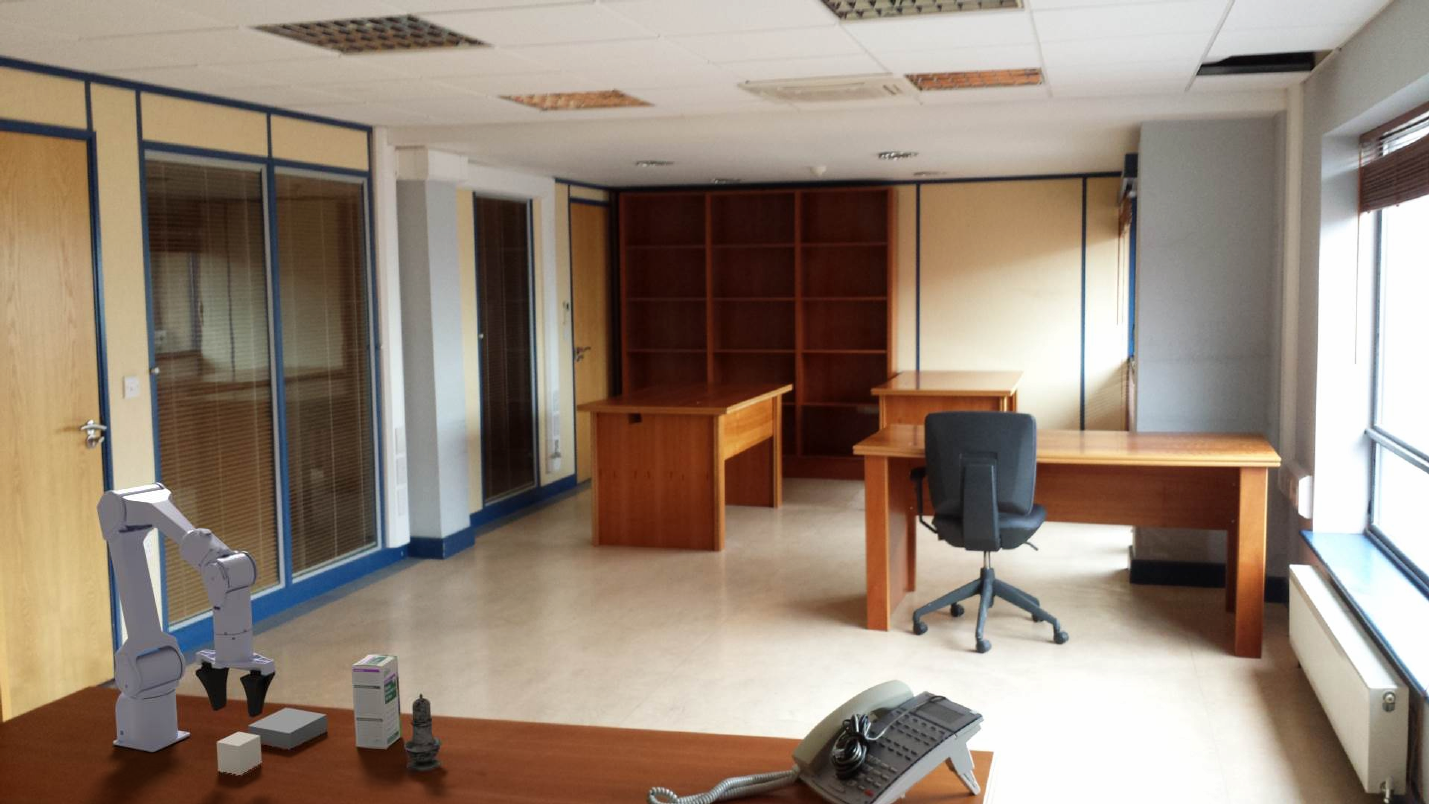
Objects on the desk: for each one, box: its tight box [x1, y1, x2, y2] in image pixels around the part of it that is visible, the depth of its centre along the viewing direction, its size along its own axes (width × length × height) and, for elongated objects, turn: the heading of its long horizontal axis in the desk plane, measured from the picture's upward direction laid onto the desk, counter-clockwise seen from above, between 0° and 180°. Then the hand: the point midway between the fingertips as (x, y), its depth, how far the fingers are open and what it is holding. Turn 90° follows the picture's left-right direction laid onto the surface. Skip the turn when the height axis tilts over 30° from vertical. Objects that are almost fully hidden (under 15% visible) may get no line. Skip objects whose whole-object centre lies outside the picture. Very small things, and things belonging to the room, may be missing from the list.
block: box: [247, 707, 328, 749], centre depth 204 cm, size 9×9×3 cm
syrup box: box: [350, 653, 403, 750], centre depth 200 cm, size 6×6×14 cm
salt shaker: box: [403, 693, 442, 773], centre depth 191 cm, size 6×6×12 cm
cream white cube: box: [216, 731, 263, 776], centre depth 191 cm, size 5×5×5 cm
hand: (237, 712), depth 190 cm, fingers open, 7 cm apart
